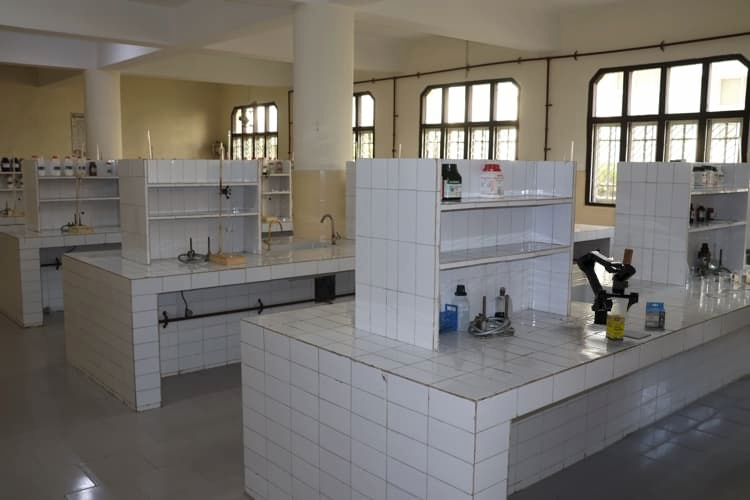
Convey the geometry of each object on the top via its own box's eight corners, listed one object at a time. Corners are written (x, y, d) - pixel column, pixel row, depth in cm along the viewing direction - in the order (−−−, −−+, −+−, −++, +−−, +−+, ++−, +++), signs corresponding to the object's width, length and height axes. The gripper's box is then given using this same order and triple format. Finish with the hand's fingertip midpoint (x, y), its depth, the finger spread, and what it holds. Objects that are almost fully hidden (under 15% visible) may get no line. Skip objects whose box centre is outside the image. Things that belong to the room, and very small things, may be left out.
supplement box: (612, 340, 314) (614, 317, 313) (605, 337, 320) (606, 314, 319) (623, 339, 316) (625, 317, 314) (616, 336, 322) (617, 314, 320)
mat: (638, 339, 317) (638, 338, 317) (615, 334, 326) (615, 333, 326) (650, 335, 325) (650, 334, 325) (627, 330, 334) (627, 329, 333)
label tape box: (646, 327, 341) (648, 303, 340) (644, 325, 345) (646, 301, 344) (664, 327, 340) (666, 304, 338) (662, 326, 344) (664, 302, 342)
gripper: (599, 273, 328) (596, 299, 320) (640, 276, 322) (638, 302, 313) (599, 286, 337) (596, 312, 328) (638, 289, 330) (637, 316, 321)
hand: (616, 310), depth 322 cm, fingers open, 9 cm apart
